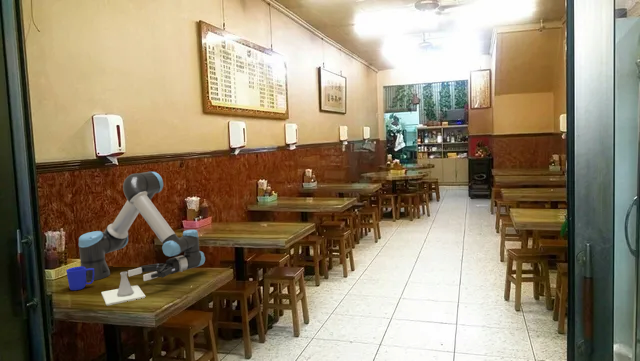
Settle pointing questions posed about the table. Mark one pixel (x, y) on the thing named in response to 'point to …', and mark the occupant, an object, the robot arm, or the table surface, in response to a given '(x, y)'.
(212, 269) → the table surface
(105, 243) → the robot arm
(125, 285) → the flask
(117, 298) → the white rectangular board
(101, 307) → the table surface
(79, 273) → the mug
